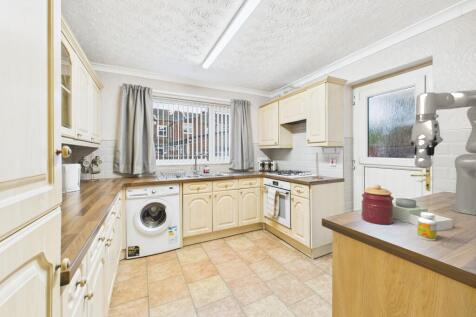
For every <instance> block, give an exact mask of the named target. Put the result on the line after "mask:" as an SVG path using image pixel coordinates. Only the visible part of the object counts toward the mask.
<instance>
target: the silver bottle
mask: <svg viewBox="0 0 476 317" xmlns="http://www.w3.org/2000/svg"><path fill="white" fill-rule="evenodd" d="M416 147H417V153H416V155H415V159H414V166H415V167H417V168H421V169H427V168H431V167H432V166H433V159H432V156H428V155H427V152H428V147H429V144H428V141H426V137H425V136H424V135H422V134H420V135H418V136H417V137H416Z"/></svg>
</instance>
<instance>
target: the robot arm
mask: <svg viewBox="0 0 476 317" xmlns="http://www.w3.org/2000/svg"><path fill="white" fill-rule="evenodd" d="M415 99H416V100H415V102H416V104H415V119H414V120H415V122H413V126H412V129H411V137H410V138H409V139H408V140H407V142H408V143H410V145H411V146H412V148H413V155H414V156H416V153H417V147H416V137H417V136H418V135H420V134H422V135H424V136H425V137H426V141H428V144H429V147H428V152H427V155H428V156H431V157H433V156H435V149H436V148H437V146H438V145H439V144H440V143H441V142H443V141H444V138H442V136H441V130H440V123H439V121H438V120H437V119H438V118H439V114H437V110H440V111H441V110H452V109H462V108H468V109H467V110H466V118H467V119H468V121H469V123H470V126H471V130H470V134H469V136H468V137H467V141H466V144H465V151H466V152H467V153H463V154H460V155H458V156H456V158H454V166H455V173H456V178H455V179H456V180H455V181H456V182H455V198H454V200H455V203H454V204H455V205H454V206H451V207H450V209H451V211H454V212H457V213H460V214H466V215H474V216H476V89H473V90H472V89H471V90H459V91H452V92H437V93H436V92H431V91H430V92H424V93H422V92H421V93H420V94H418V95H417V96H416V98H415Z"/></svg>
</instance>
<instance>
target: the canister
mask: <svg viewBox="0 0 476 317" xmlns="http://www.w3.org/2000/svg"><path fill="white" fill-rule="evenodd" d="M363 192H364V193H362V194H361V197H362V201H361V213H360V216H361V218H362V220H363V221H366V222H368V223H371V224H375V225H376V224H377V225H387V226H388V225H391V224H393V221H394V218H393V206H394V205H393V204H392V203H393V200H394V197H393V196H392V194H393V192H391V191H389V190H388V189H386V188H381V185H380V184H375V185H374V187H367V188H366V189H364V190H363Z"/></svg>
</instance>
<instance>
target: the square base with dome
mask: <svg viewBox="0 0 476 317" xmlns="http://www.w3.org/2000/svg"><path fill="white" fill-rule="evenodd" d="M392 204H393V205H394V206H393V219H396V220H398V221H400V222H401V221H402V222H404V223H407V224H412V225H414V226H417V227H418V219H419V218H421V212H427V213H429V209H428V207H425V206H419V205H417V201H416V200H414V199H411V198H406V197H405V198H403V197H398V198H395V202H392ZM434 215H435V218H434V220H435V221H436V222H437V228H436V232H437V231H443V230H449V229H450V230H451V229H453V224H454V222H453V221H454V219H452V218H448V217H445V216H442V215H437V214H434Z"/></svg>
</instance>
